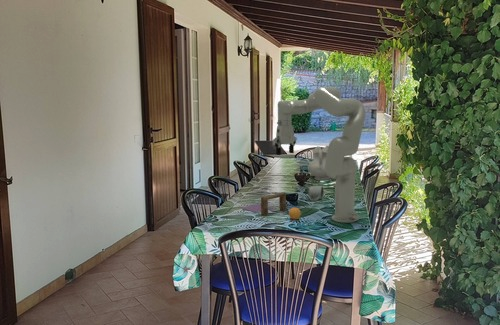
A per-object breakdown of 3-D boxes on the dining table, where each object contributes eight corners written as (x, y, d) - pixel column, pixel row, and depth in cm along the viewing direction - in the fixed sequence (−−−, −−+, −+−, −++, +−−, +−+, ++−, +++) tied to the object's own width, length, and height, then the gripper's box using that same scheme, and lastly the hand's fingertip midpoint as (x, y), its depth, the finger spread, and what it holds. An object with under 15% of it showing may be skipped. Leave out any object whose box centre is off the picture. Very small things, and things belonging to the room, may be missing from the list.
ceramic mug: (310, 196, 275) (310, 184, 273) (323, 197, 272) (323, 185, 270) (306, 200, 265) (306, 188, 264) (320, 201, 262) (320, 189, 261)
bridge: (286, 211, 242) (285, 193, 240) (264, 216, 233) (264, 198, 231) (282, 210, 244) (282, 192, 243) (261, 215, 235) (260, 197, 234)
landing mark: (273, 208, 248) (273, 208, 248) (255, 212, 240) (255, 212, 240) (258, 204, 258) (258, 203, 258) (240, 208, 250) (240, 207, 250)
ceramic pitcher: (337, 183, 317) (340, 148, 314) (309, 181, 318) (312, 147, 314) (332, 178, 339) (334, 145, 335) (306, 176, 339) (308, 143, 335)
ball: (303, 219, 226) (303, 207, 225) (294, 221, 222) (294, 209, 221) (294, 217, 230) (294, 205, 229) (286, 219, 227) (286, 207, 226)
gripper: (277, 124, 240) (277, 156, 242) (300, 122, 250) (300, 153, 253) (268, 123, 246) (268, 154, 248) (291, 122, 256) (291, 151, 259)
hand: (285, 153), depth 250 cm, fingers open, 9 cm apart
